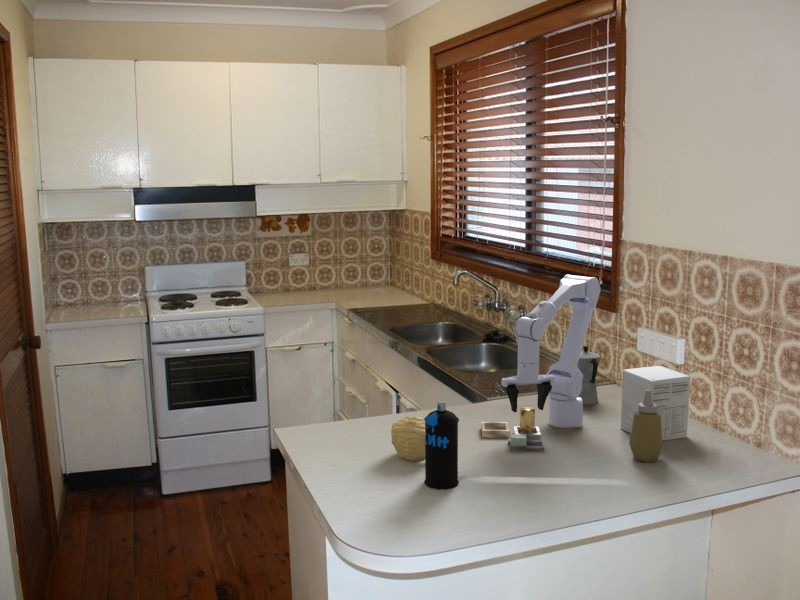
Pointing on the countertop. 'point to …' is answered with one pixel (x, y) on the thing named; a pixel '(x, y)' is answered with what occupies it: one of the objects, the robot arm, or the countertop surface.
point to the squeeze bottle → (646, 431)
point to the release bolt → (518, 440)
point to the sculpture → (409, 438)
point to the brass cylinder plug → (527, 420)
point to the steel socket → (529, 436)
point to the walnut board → (527, 448)
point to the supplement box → (657, 398)
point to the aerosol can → (441, 448)
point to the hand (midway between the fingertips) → (527, 410)
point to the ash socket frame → (495, 429)
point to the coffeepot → (588, 376)
